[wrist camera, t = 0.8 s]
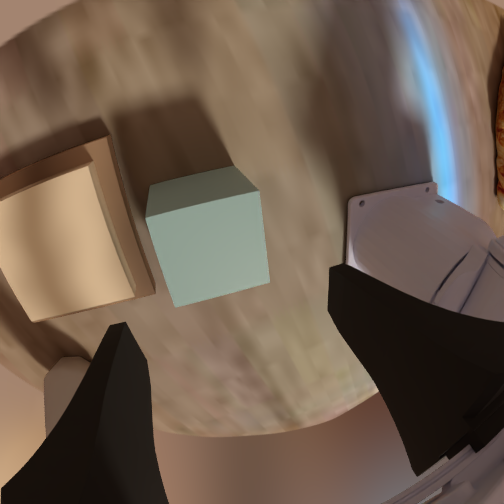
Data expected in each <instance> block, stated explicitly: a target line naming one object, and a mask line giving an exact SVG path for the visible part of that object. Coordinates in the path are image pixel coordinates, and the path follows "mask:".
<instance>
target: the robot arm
mask: <svg viewBox="0 0 504 504" xmlns="http://www.w3.org/2000/svg"><path fill="white" fill-rule="evenodd" d="M437 191H438V185H437V183H435V182H428V183H423V184H417V185H412V186H406V187H401V188H396V189H390V190H385V191H380V192H375V193H370V194H365V195H360V196H355V197H352V198H351V199H350V200H349V202H348V226H347V249H346V264H345V263H343V264H339V265H336V266H333V267H330V268H329V291H328V312H329V314H330V316H331V318H332V320H333V322H334V324H335V325H336V327H337V329H338V331H339V333H340V334H341V335H342V337H343V338H344V340H345V341H346V343H347V344H348V345H349V347H350V348H351V350H352V351H353V352H354V354H355V355H356V357H357V358H358V359H359V361H360V362H361V364H362V365H363V366H364V368H365V369H366V371H367V372H368V373H369V375H370V376H371V378H372V380H373V381H374V383H375V384H376V386H377V388H378V390H379V392H380V394H381V395H382V397H383V399H384V401H385V403H386V405H387V407H388V409H389V411H390V413H391V416H392V418H393V420H394V422H395V424H396V427H397V429H398V431H399V434H400V436H401V438H402V441H403V444H404V446H405V449H406V452H407V455H408V458H409V461H410V464H411V467H412V470H413V471H414V473H415V474H416V476H420V475H421V474H423V473H424V472H426V471H427V470H428V469H430V468H431V467H433V466H434V465H436V464H437V463H439V462H440V461H441V460H443V459H444V458H445V457H447V458H448V459H449V461H448V462H446V463H445V464H444V465H442V466H441V467H439V468H438V469H437V470H435V471H434V472H432V473H431V474H430V475H428V476H427V477H425V478H424V479H422V480H421V481H419V482H418V483H416V484H414V485H413V486H411V487H410V488H408V489H406V490H405V491H403V492H401V493H400V494H398V495H396V496H395V497H393V498H391V499H390V500H388V501H386V502H384V503H382V504H417V503H419V502H420V501H422V500H423V499H425V498H426V497H428V496H429V495H431V494H432V493H434V492H435V491H436V490H438V489H439V488H440V487H442V486H443V487H442V492H441V493H440V494H438V495H436V496H434V497H433V498H431V499H429V500H427V501H426V502H424V503H423V504H504V236H501V237H498V238H496V236H495V234H494V232H493V230H492V229H491V228H490V226H489V225H488V224H487V223H486V222H484V221H483V220H482V219H480V218H478V217H477V216H475V215H473V214H472V213H470V212H468V211H466V210H465V209H463V208H461V207H460V206H458V205H456V204H454V203H452V202H451V201H449V200H447V199H445V198H443V197H441V196H439V195H438V194H437ZM360 201H362V203H361V204H360V205H359V203H360ZM1 504H169V502H168V499H167V496H166V493H165V489H164V486H163V482H162V479H161V475H160V471H159V466H158V462H157V458H156V453H155V446H154V438H153V422H152V402H151V384H150V377H149V370H148V364H147V359H146V358H145V356H144V354H143V352H142V351H141V349H140V347H139V345H138V344H137V342H136V340H135V338H134V336H133V335H132V333H131V331H130V329H129V327H128V325H127V323H126V322H122V323H118V324H113V325H110V326H109V328H108V330H107V331H106V333H105V335H104V337H103V339H102V341H101V343H100V345H99V347H98V349H97V351H96V353H95V355H94V357H93V359H92V361H91V363H90V365H89V367H88V369H87V371H86V373H85V375H84V377H83V379H82V381H81V383H80V385H79V386H78V388H77V390H76V392H75V394H74V396H73V398H72V399H71V401H70V403H69V405H68V406H67V408H66V410H65V411H64V413H63V414H62V416H61V418H60V419H59V421H58V422H57V424H56V425H55V427H54V428H53V429H52V431H51V432H50V434H49V435H48V436H47V438H46V439H45V440H44V442H43V443H42V445H41V446H40V447H39V449H38V450H37V451H36V452H35V453H34V455H33V456H32V457H31V458H30V459H29V461H28V462H27V463H26V464H25V465H24V467H22V468H21V470H19V472H18V473H16V474H15V476H13V477H12V478H11V479H10V480H9V481H8V482H7V483H6V484H5V485H4V486H3V487H2V488H1Z"/></svg>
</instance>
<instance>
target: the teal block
mask: <svg viewBox="0 0 504 504" xmlns="http://www.w3.org/2000/svg"><path fill="white" fill-rule="evenodd" d="M145 219H146V223H147V226H148V229H149V232H150V236H151V239H152V242H153V245H154V248H155V251H156V254H157V257H158V260H159V263H160V266H161V269H162V272H163V275H164V278H165V281H166V283H167V286H168V289H169V292H170V295H171V297H172V300H173V303H174V305H175V308H176V307H180V306H184V305H188V304H192V303H195V302H199V301H203V300H207V299H211V298H215V297H218V296H222V295H226V294H230V293H233V292H237V291H241V290H245V289H248V288H252V287H256V286H259V285H263V284H266V283H270V278H269V269H268V261H267V252H266V243H265V235H264V226H263V218H262V209H261V201H260V193H259V190H258V189H257V188H256V187H255V186H254V185H253V184H252V183H251V182H250V181H249V180H248V179H247V178H246V177H245V176H244V175H243V174H242V173H241V172H240V171H239V170H238V169H237V168H236V167H235V166H230V167H225V168H220V169H215V170H211V171H206V172H202V173H197V174H193V175H189V176H185V177H180V178H176V179H172V180H168V181H164V182H161V183H157V184H153V185H150V188H149V194H148V201H147V208H146V216H145Z"/></svg>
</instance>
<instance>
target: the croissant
mask: <svg viewBox="0 0 504 504" xmlns="http://www.w3.org/2000/svg"><path fill="white" fill-rule="evenodd" d="M497 102H498V104H497V105H498V107H497V114H496V124H495V131H496V147H497V152H498V157H497V159H496V164H497V170H498V171H497V174H498V178H499V181H498V184H497V198H498V202H499V205H500V207H501V208H502V209H503V210H504V66H503V69H502V78H501V83H500V86H499V91H498V100H497Z"/></svg>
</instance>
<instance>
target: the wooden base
mask: <svg viewBox="0 0 504 504" xmlns="http://www.w3.org/2000/svg"><path fill="white" fill-rule="evenodd" d="M0 268H1V270H2V271H3V273H4V275H5V277H6V279H7V281H8V283H9V285H10V286H11V288H12V290H13V292H14V293H15V295H16V297H17V299H18V300H19V302H20V304H21V305H22V307H23V309H24V310H25V312H26V313H27V315H28V316H29V318H30V320H31V321H32V322H33V323H35V322H40V321H44V320H49V319H53V318H57V317H62V316H66V315H70V314H74V313H79V312H83V311H87V310H91V309H96V308H100V307H104V306H108V305H112V304H116V303H120V302H125V301H129V300H133V299H137V298H141V297H145V296H149V295H153V294H156V291H155V281H154V278H153V275H152V273H151V270H150V267H149V264H148V261H147V259H146V256H145V253H144V250H143V247H142V244H141V241H140V238H139V235H138V232H137V229H136V226H135V223H134V219H133V216H132V213H131V210H130V206H129V203H128V200H127V196H126V193H125V189H124V186H123V182H122V178H121V175H120V171H119V167H118V163H117V159H116V155H115V151H114V147H113V143H112V138H111V135H108V136H104V137H101V138H98V139H95V140H92V141H89V142H87V143H84V144H81V145H78V146H75V147H73V148H70V149H67V150H65V151H62V152H60V153H57V154H55V155H52V156H50V157H47V158H45V159H43V160H40V161H38V162H36V163H33V164H31V165H29V166H27V167H24V168H22V169H20V170H18V171H16V172H14V173H12V174H10V175H8V176H6V177H4V178H2V179H0Z"/></svg>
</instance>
